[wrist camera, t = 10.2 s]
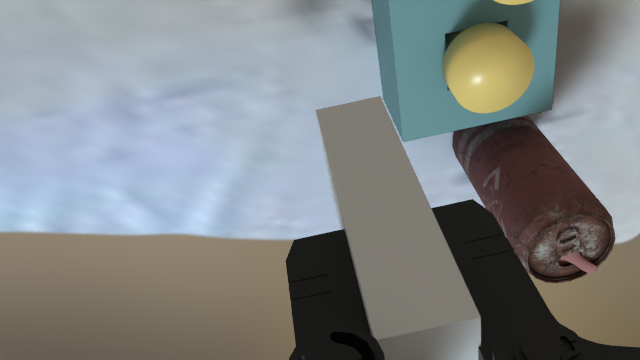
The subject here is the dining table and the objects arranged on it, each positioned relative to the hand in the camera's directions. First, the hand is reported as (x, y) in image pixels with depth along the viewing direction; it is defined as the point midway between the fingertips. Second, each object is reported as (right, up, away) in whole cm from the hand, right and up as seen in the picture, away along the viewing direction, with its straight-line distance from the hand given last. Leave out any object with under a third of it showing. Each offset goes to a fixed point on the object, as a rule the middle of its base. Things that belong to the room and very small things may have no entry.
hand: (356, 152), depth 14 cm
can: (+12, +3, +33) cm, 35 cm away
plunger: (+8, +10, +26) cm, 29 cm away
